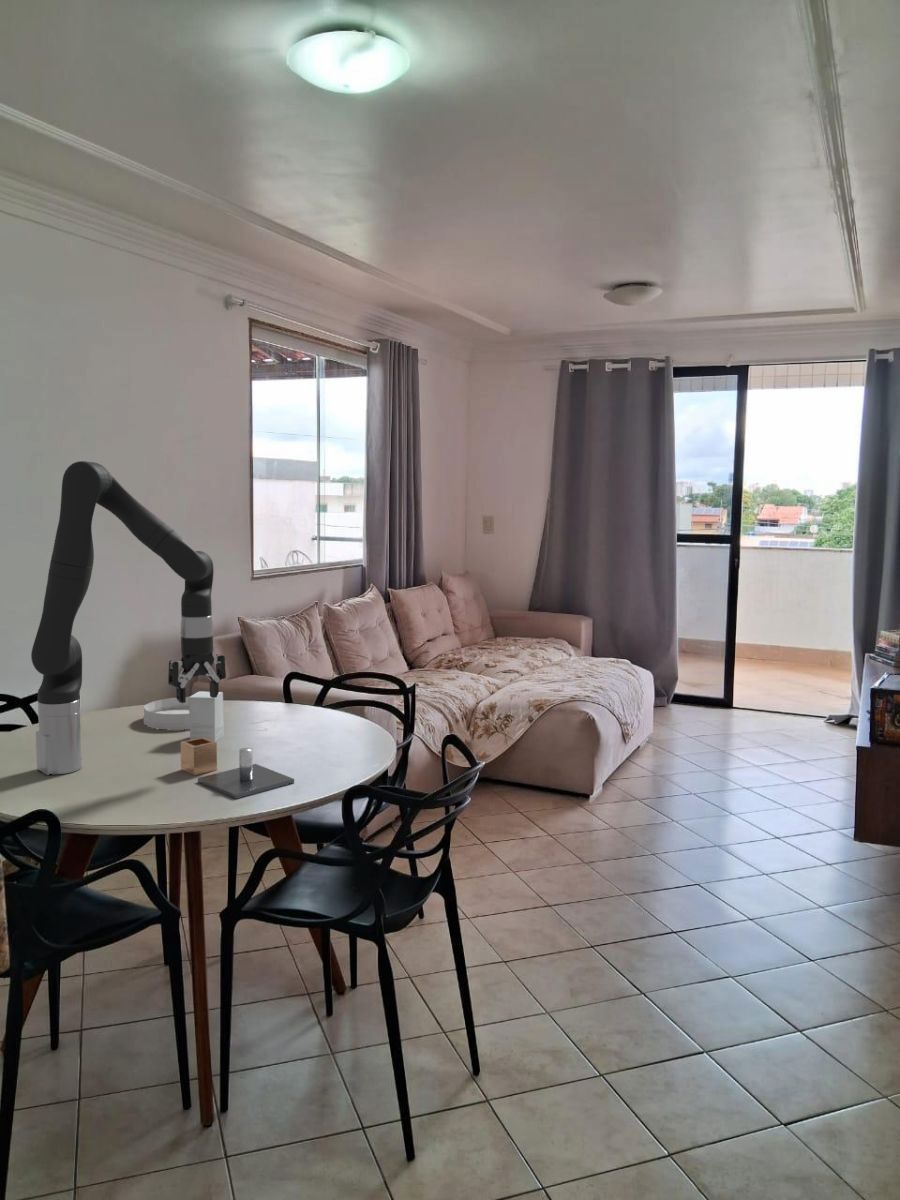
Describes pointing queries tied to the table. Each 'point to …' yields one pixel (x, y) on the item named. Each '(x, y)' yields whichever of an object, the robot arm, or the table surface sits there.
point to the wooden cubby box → (198, 756)
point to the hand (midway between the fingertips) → (198, 699)
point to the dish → (167, 714)
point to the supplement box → (206, 716)
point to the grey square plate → (245, 778)
